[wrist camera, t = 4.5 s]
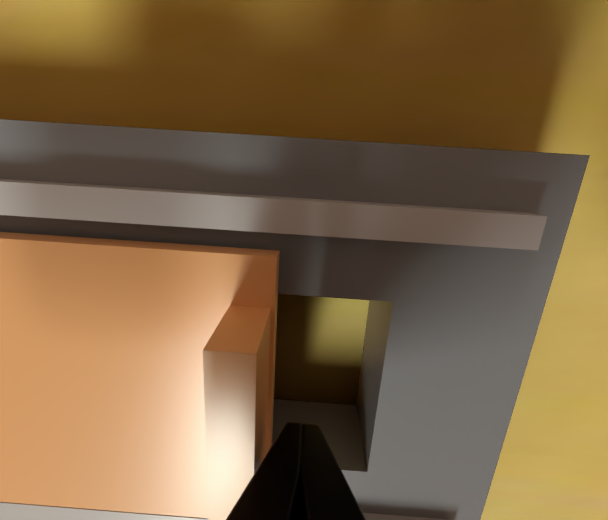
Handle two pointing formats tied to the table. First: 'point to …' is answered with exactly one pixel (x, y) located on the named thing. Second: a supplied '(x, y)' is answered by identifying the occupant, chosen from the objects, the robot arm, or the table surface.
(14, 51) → the table surface
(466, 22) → the table surface
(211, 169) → the socket block
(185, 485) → the shutter
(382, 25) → the table surface
